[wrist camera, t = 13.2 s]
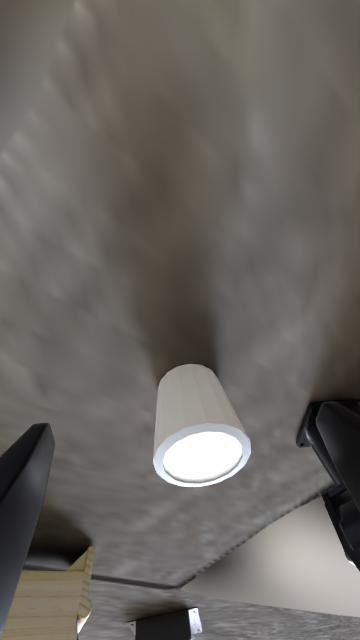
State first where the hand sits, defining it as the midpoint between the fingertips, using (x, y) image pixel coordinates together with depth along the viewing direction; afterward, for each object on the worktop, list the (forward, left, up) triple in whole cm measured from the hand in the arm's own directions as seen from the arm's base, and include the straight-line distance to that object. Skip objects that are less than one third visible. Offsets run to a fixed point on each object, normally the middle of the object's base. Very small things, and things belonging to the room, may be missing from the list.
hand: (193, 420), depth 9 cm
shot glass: (-10, -2, -12) cm, 16 cm away
